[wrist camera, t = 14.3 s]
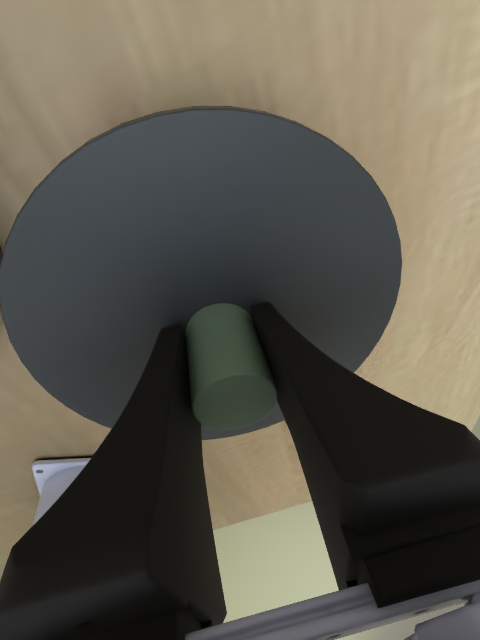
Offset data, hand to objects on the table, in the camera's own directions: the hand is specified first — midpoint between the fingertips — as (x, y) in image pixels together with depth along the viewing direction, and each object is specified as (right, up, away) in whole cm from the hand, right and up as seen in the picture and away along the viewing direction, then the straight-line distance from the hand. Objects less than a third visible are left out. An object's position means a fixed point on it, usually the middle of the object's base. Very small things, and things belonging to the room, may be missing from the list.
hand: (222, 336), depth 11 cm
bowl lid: (0, +1, +1) cm, 1 cm away
